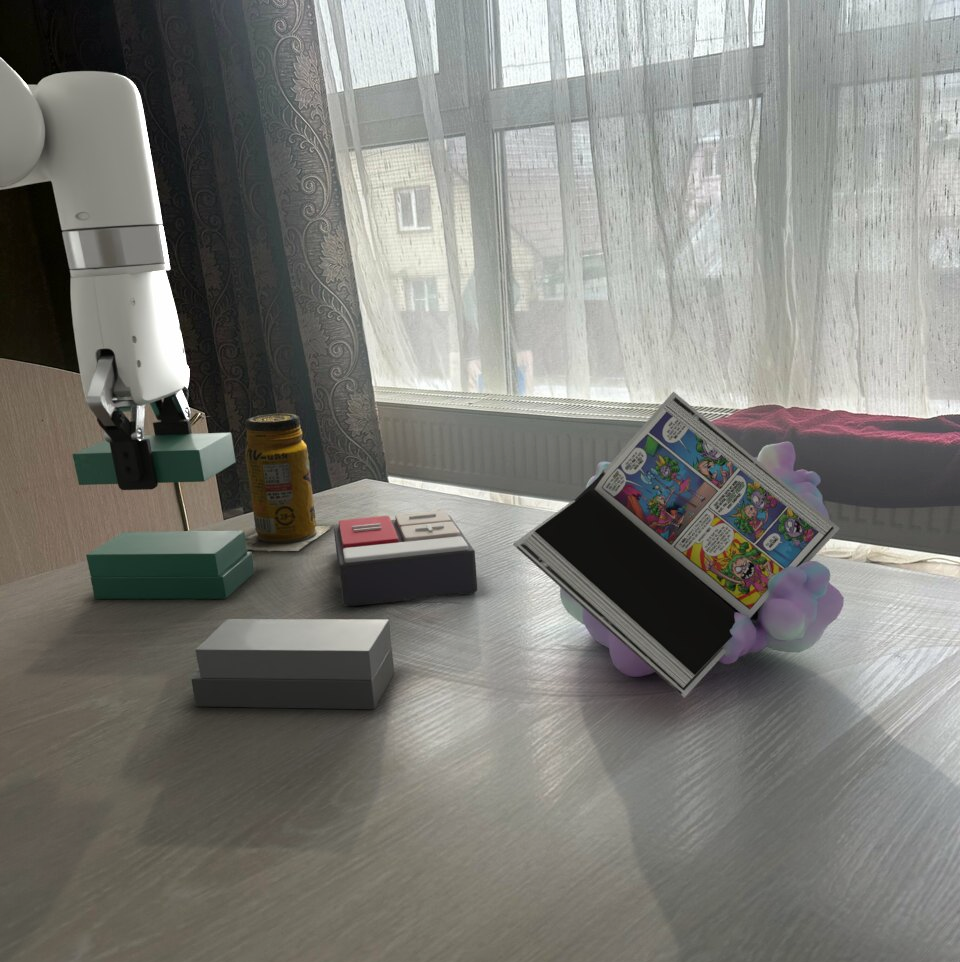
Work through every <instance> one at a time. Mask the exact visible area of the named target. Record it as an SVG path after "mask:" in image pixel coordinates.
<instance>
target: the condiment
mask: <svg viewBox="0 0 960 962" xmlns="http://www.w3.org/2000/svg"><path fill="white" fill-rule="evenodd" d="M244 426H245V430H246V439H245V440H246V442H247V446H246V448H245V451H244V454H245V462H246V469H247V470H246V471H247V476H248V484H249V491H250V498H251V506H252V512H253V521H254V529H255V533H252V534H251V535H249V536H245V540H246V547H247V551H249V550H252V551H267V552H268V553H270V552H275V551H278V552H279V551H280V552H288V551H289V552H299V551H300V550H301V549H302V548H305V547H306V545H308V544H310V543H311V542H313V541H314V540H316V539H318V538H319V537H321V536H322V535H323V534H324V533H326V532H327V531H329V530H330V529H332V525H317V521H316V510H315V502H314V494H313V486H312V485H313V483H312V477H311V469H310V468H311V467H310V460H309V453H308V452H309V451H308V447H307V443H306V442H305V441H304V440H303V439H302V438H303V430H302V429H301V420H300V416H298V415H296V414H293V413H270V414H262V415H257V416H256V415H255V416H253V417H249V418H247V419H246V420H245V424H244Z"/></svg>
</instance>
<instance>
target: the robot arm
mask: <svg viewBox="0 0 960 962" xmlns="http://www.w3.org/2000/svg"><path fill="white" fill-rule="evenodd" d="M46 182H51V185H52V190H53V194H54V199H55V204H56V209H57V214H58V219H59V224H60V229H61V231H62V232H61V234H62V240H63V245H64V249H65V253H66V258H67V263H68V264H67V265H68V268H69V273H70V308H71V319H72V328H73V334H74V335H73V336H74V342H75V349H76V357H77V362H78V369H79V375H80V378H81V379H80V380H81V385H82V390H83V394H84V398H85V402H86V405H87V406H88V408H89V410H90V411H91V412H92V413H93V415H94V416H95V418H96V422H97V423H98V426H99V427H101V429H102V430H103V436H104V439H105V440H106V441H107V442H109V443H110V448H111V453H112V457H113V462H114V467H115V472H116V477H117V482H118V484H117V486H118V488H119V489H120V490H121V491H144V490H154V489H155V488H157V487H158V485H159V483H158V482H157V476H156V471H155V466H154V461H153V455H152V450H151V445H150V439H143V437H144V436H145V415H146V413H145V411H146V405H149V406H150V408H151V410H152V412H153V414H154V417H155V418H156V420H157V421H153V422H152V427H153V432H154V435H177V434H193V432H192V425H191V421H190V419H191V414H192V413H191V409H190V407H189V404H188V401H189V396H190V394H189V393H190V390H189V389H188V388H189V383H190V368H189V365H188V364H187V356H186V352H185V351H186V350H185V346H184V340H183V336H182V331H181V327H180V322H179V317H178V313H177V308H176V304H175V300H174V297H173V293H172V289H171V285H170V282H169V279H168V274H167V271H170V270H171V265H170V258H169V254H168V253H169V252H168V246H167V241H166V235H165V230H164V226H163V219H162V218H163V217H162V212H161V205H160V200H159V195H158V194H159V193H158V189H157V183H156V176H155V171H154V165H153V158H152V154H151V148H150V142H149V136H148V131H147V124H146V117H145V112H144V107H143V102H142V97H141V94H140V92H139V90H138V88H137V86H136V84H135V83H134V82H133V81H132V80H131V79H130V78H128V77H127V76H124V75H122V74H119V73H115V72H109V71H98V70H97V71H96V70H80V71H79V70H78V71H67V72H60V73H53V74H51V75H48V76H45V77H43V78H42V79H41V80H40V81H39V82H38V83H37V84H27V83H26V82H25V81H24V80H23V78H22V77H21V76H20V75H19V74H18V73H17V72H16V70H14V69H13V68H12V67H11V66H10V65H9V64H8V63H7V62H6V61H5V60H4V59H3V58H2V57H1V56H0V191H1V190H8V189H13V188H18V187H24V186H27V185H34V184H39V183H46ZM129 398H130V399H129ZM127 412H130V419H129V418H128V417H127V416H126V415H125V414H124V413H127Z"/></svg>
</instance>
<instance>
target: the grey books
mask: <svg viewBox="0 0 960 962" xmlns="http://www.w3.org/2000/svg"><path fill="white" fill-rule="evenodd" d="M391 638H392V637H391V627H390V619H384V618H383V619H377V618H376V619H373V618H372V619H371V618H370V619H362V618H361V619H360V618H359V619H357V618H356V619H354V618H352V619H351V618H349V619H344V618H343V619H340V618H338V619H336V618H333V619H330V618H329V619H328V618H323V619H322V618H321V619H319V618H316V619H315V618H312V619H311V618H307V619H306V618H302V619H301V618H226V620H224V621H223V623H221V624H220V625H219V626H218V627H217V628H216V629H215V630H214V631H213V632H211V634H210V635H209V636H208V637H207V638H206V639H205V640H204V641H203V642H202V643H200V645H199V646H198V647H197V648H196V649H195V656H196V661H197V666H198V667H197V668H198V671H197V672H196V673H195V674H194V675H193V676H192V677H191V679H190V681H191V686H192V693H193V697H194V703H195V706H196V707H203V708H205V707H207V708H209V707H211V708H213V707H214V708H263V709H265V708H268V709H270V708H271V709H323V710H325V709H326V710H331V709H332V710H375V709H376V707H377V706H378V704H379V702H380V701H381V698H382V697H383V695H384V693H385V691H386V689H387V687H388V685H389V684H390V682H391V680H392V678H393V676H394V675H395V667H394V658H393V657H394V656H393V647H392V639H391Z"/></svg>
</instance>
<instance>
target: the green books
mask: <svg viewBox="0 0 960 962" xmlns="http://www.w3.org/2000/svg"><path fill="white" fill-rule="evenodd" d="M245 533H246V532H245V530H191V531H190V530H189V531H187V530H185V531H184V530H182V531H181V530H180V531H179V530H178V531H122V532H121V533H119V534H118V535H116V536H114V537H113V538H111V539H109V540H108V541H106V542H105V543H103V544H101V545H99V546H98V547H96V548H95V549H93V550H91V551H89V552H88V553H86V554H85V555H86V562H87V565H88V570H89V575H90V582H91V587H92V592H93V596H94V599H95V600H171V599H172V600H191V599H192V600H208V599H209V600H219V599H220V600H224V599H227V598H228V597H230V596H231V595H232V594H233V593H234V592H235V591H236V590H238V588H240V587H241V586H242V585H244V583H245V582H246V581H247V580H248V579H249V578H250V577H252V576H253V575H254V574H255V573H256V571H255V563H254V558H253V552H252V551H248V550H247V547H246V540H245V537H246V534H245Z"/></svg>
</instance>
